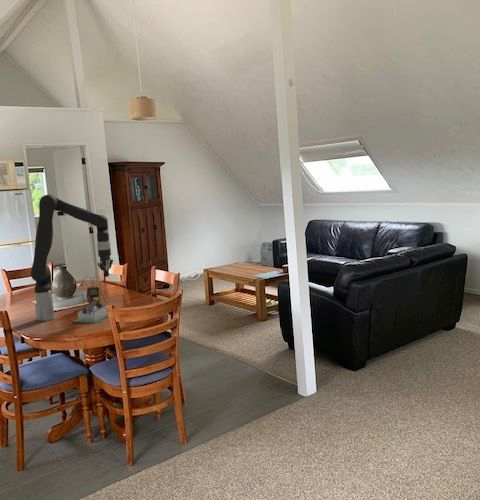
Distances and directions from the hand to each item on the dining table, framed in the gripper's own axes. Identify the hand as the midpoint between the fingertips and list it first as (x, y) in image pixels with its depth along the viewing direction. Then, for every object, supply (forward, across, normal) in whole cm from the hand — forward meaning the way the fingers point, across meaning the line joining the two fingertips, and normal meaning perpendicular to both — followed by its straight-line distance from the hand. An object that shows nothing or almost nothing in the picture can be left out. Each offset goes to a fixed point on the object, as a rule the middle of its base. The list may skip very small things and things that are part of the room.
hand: (106, 276), depth 303 cm
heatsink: (+23, +12, -3) cm, 26 cm away
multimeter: (+23, -8, -18) cm, 30 cm away
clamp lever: (+15, +13, -3) cm, 20 cm away
